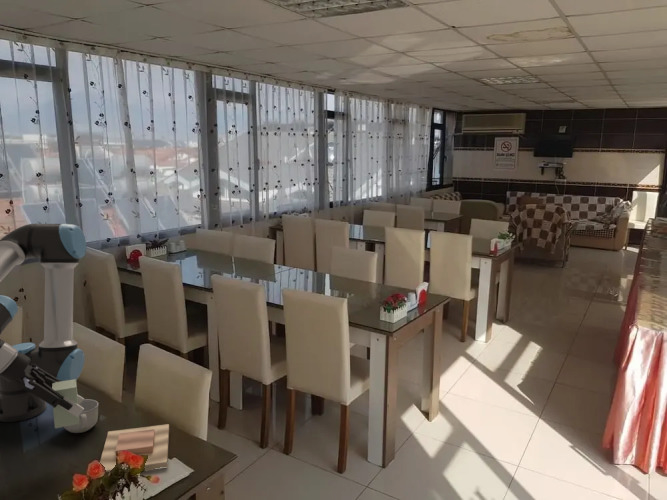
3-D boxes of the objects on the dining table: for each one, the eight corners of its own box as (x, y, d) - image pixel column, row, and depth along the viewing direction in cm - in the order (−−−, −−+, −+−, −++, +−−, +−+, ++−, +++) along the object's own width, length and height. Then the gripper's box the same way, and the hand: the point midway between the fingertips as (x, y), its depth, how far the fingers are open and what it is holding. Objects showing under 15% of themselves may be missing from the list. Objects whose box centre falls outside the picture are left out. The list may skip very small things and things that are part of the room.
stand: (108, 437, 160) (107, 425, 160) (169, 429, 165) (168, 418, 165) (97, 478, 140) (96, 465, 139) (167, 468, 144) (166, 455, 144)
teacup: (64, 423, 169) (62, 400, 167) (100, 417, 173) (98, 395, 172) (60, 444, 156) (58, 420, 155) (99, 437, 160) (97, 413, 159)
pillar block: (55, 418, 148) (52, 382, 146) (78, 414, 150) (76, 379, 149) (54, 428, 143) (51, 391, 141) (78, 423, 145) (76, 387, 143)
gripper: (2, 361, 145) (71, 404, 155) (-8, 387, 129) (70, 433, 138) (22, 340, 147) (89, 384, 157) (15, 364, 130) (90, 411, 140)
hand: (80, 407), depth 148 cm, fingers closed on pillar block, 6 cm apart
